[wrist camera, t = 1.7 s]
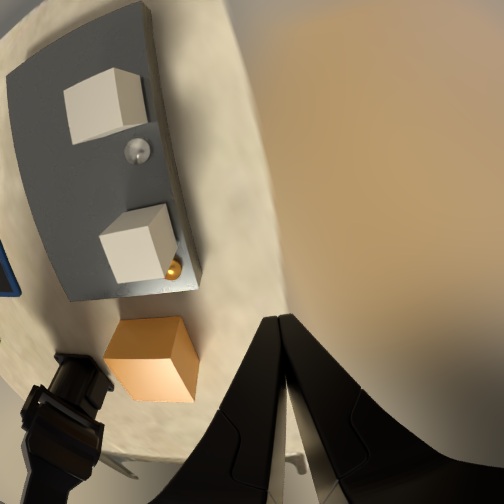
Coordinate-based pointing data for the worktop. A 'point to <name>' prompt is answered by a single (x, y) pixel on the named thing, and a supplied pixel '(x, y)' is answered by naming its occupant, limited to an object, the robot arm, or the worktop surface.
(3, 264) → the cell phone
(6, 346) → the worktop surface
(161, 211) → the light grey block
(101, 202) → the panel
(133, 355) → the orange squarish block
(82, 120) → the block
